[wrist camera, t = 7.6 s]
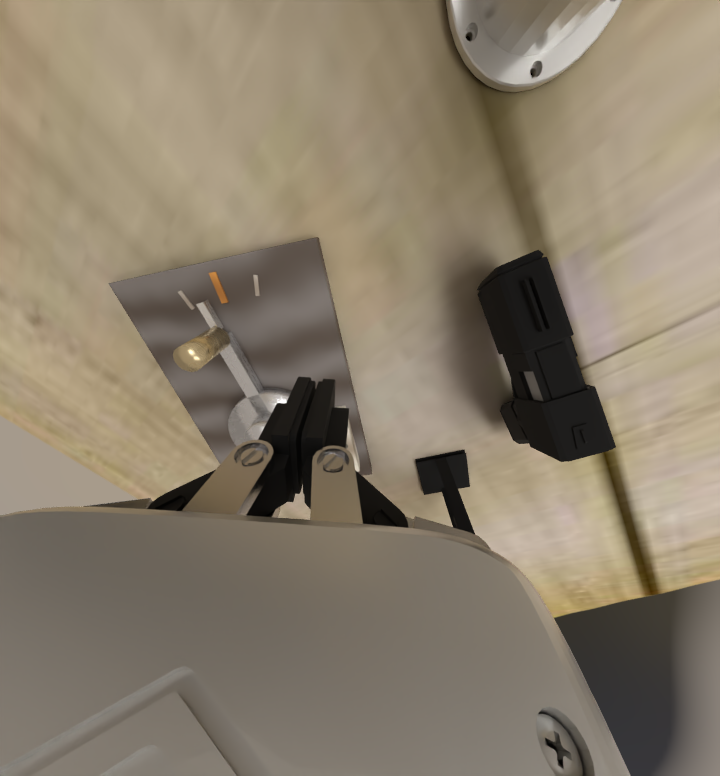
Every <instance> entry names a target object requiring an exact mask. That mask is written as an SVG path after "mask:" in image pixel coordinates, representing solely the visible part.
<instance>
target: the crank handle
mask: <svg viewBox="0 0 720 776" xmlns="http://www.w3.org/2000/svg"><path fill="white" fill-rule="evenodd" d="M196 305H197V307H198V308H199V310H200V312H201V313H202V315H203V317H204V318H205V320H206V322H207V323H208V325H209V327H210V329H208V330H207V331H205V332H203V333H202V334H200V335H198V336H196V337H195V338H193V339H191V340H190V341H188V342H186V343H185V344H183V345H181V346H179V347H178V348H176V349H175V350H174V352H173V358H174V361H175V363H176V364H177V365H178V366H179V367H180V368H181V369H183V370H185V371H189V372H195V371H198V370H199V369H200V368H202V367H203V366H204V365H205V364H207V363H208V362H209V361H210V360H212V359H213V358H214V357H215V356H217V355H218V354H219V353H220V354H221V356H222V357H223V359H224V361H225V362H226V364H227V366H228V367H229V369H230V370H231V372H232V374H233V375H234V377H235V379H236V380H237V382H238V384H239V385H240V387H241V388H242V390H243V392H244V393H245V396H244V397H243V398H242V399H241V400H240V401H239V402H238V403H237V405H236V406H235V407H234V409H233V410H232V412H231V414H230V416H229V420H228V429H229V433H230V436H231V438H232V440H233V442H234V444H235V445H236V446H238V445H240V444H241V443H243V442H246V441H250V440H258V439H259V437H260V435H261V433H262V431H263V429H264V427H265V425H266V423H267V421H268V419H269V417H270V415H271V414H272V412H273V410H274V408H275V406H276V404H277V403H286V402H287V400H288V398H289V395H290V393H291V391H288V390H284V389H279V388H263V387H262V385H261V383H260V382H259V380H258V378H257V376H256V374H255V373H254V371H253V369H252V367H251V366H250V364H249V362H248V360H247V358H246V357H245V355H244V353H243V351H242V350H241V348H240V346H239V344H238V342H237V341H236V339H235V337H234V335H233V334H232V332H228V333H227V332H226V331H225V330H224V329H222V328H223V325H222V323H221V322H220V320H219V318H218V316H217V315H216V313H215V311H214V309H213V308H212V306H211V304H210V302H209V301H208V300H207V301H204V302H201V303H198V304H196Z"/></svg>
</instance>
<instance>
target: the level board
mask: <svg viewBox="0 0 720 776" xmlns="http://www.w3.org/2000/svg"><path fill="white" fill-rule="evenodd" d="M109 285H110V287H111V288H112V290H113V291H114V293H115V295H116V296H117V298H118V299H119V301H120V303H121V304H122V306H123V308H124V309H125V311H126V312H127V314H128V316H129V317H130V319H131V321H132V322H133V324H134V325H135V327H136V329H137V330H138V332H139V333H140V335H141V337H142V338H143V340H144V342H145V343H146V345H147V346H148V348H149V350H150V351H151V353H152V354H153V356H154V358H155V359H156V361H157V363H158V364H159V366H160V367H161V369H162V371H163V372H164V374H165V376H166V377H167V379H168V380H169V382H170V384H171V385H172V387H173V388H174V390H175V392H176V393H177V395H178V397H179V398H180V400H181V401H182V403H183V405H184V406H185V408H186V410H187V411H188V413H189V414H190V416H191V418H192V419H193V421H194V422H195V424H196V426H197V427H198V429H199V431H200V432H201V434H202V435H203V437H204V439H205V440H206V442H207V443H208V445H209V447H210V448H211V450H212V452H213V453H214V455H215V456H216V458H217V460H218V461H219V463H220V464H221V463H222V462H223V461H224V460H225V458H226V457H227V456H228V455H229V454H230V452H231V451H232V450H233V449H234V448H235V447H236V445H235V444H234V442H233V440H232V438H231V436H230V433H229V429H228V420H229V416H230V414H231V412H232V410H233V409H234V407H235V406H236V405H237V403H238V402H239V401H240V400H241V399H242V398H243V397H244V396H245V393H244V392H243V390H242V388H241V387H240V385H239V384H238V382H237V380H236V379H235V377H234V375H233V374H232V372H231V370H230V369H229V367H228V366H227V364H226V362H225V361H224V359H223V357H222V356H221V354H220V353H219V354H218V355H217V356H215V357H214V358H213V359H212V360H210V361H209V362H208V363H207V364H205V365H204V366H203V367H202V368H200V369H199V370H198V371H195V372H189V371H185V370H183V369H181V368H180V367H179V366H178V365H177V364H176V363H175V361H174V358H173V352H174V350H175V349H176V348H178V347H179V346H181V345H183V344H185V343H186V342H188V341H190V340H191V339H193V338H195V337H196V336H198V335H200V334H202V333H203V332H205V331H207V330H208V329H210V327H209V325H208V323H207V322H206V320H205V318H204V317H203V315H202V313H201V312H200V310H199V308H198V307H197V305H196V304H198V303H201V302H204V301H207V300H208V301H209V302H210V304H211V306H212V308H213V309H214V311H215V313H216V315H217V316H218V318H219V320H220V322H221V323H222V325H223V328H222V329H224V330H225V331H226V332H227V333H228V332H232V334H233V335H234V337H235V339H236V341H237V342H238V344H239V346H240V348H241V350H242V351H243V353H244V355H245V357H246V358H247V360H248V362H249V364H250V366H251V367H252V369H253V371H254V373H255V374H256V376H257V378H258V380H259V382H260V383H261V385H262V387H263V388H279V389H284V390H288V391H292V389H293V387H294V385H295V383H296V380H297V378H298V377H311V381H315V383H316V387H317V384H318V381H323V379H335V381H336V383H335V407H338V408H349V419H348V432H347V443H346V449H347V450H349V452H350V453H351V454H352V456H353V459H354V465H355V470H356V471H357V472H358V473H359V474H360V475H369V474H372V468H371V463H370V458H369V454H368V450H367V445H366V441H365V437H364V432H363V428H362V424H361V419H360V415H359V411H358V406H357V402H356V398H355V394H354V389H353V385H352V381H351V376H350V372H349V368H348V363H347V359H346V355H345V350H344V346H343V342H342V337H341V333H340V329H339V324H338V320H337V316H336V311H335V307H334V303H333V298H332V294H331V290H330V285H329V281H328V277H327V272H326V268H325V264H324V259H323V255H322V251H321V246H320V242H319V238H312V239H307V240H303V241H298V242H294V243H289V244H285V245H280V246H276V247H271V248H267V249H262V250H258V251H253V252H249V253H244V254H240V255H235V256H231V257H226V258H222V259H217V260H212V261H208V262H203V263H199V264H194V265H190V266H185V267H181V268H176V269H172V270H167V271H163V272H158V273H154V274H149V275H145V276H140V277H136V278H131V279H127V280H122V281H117V282H113V283H109Z"/></svg>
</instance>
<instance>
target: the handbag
mask: <svg viewBox="0 0 720 776" xmlns="http://www.w3.org/2000/svg"><path fill="white" fill-rule="evenodd" d="M415 460H416V464H417V468H418V472H419V476H420V480H421V484H422V489H423V493H424V495H425V494H431V493H437V492H442V493H443V496H444V500H445V503H446V506H447V509H448V512H449V515H450V519H451V522H452V525H453V528H456V529H460V530H463V531H467V532H470V533H472V534H475V533H474V530H473V528H472V525H471V522H470V520H469V517H468V515H467V512H466V509H465V507H464V504H463V501H462V499H461V496H460V494H459V491H458V489H459V488H465V487H470V484H469V475H468V466H467V457H466V453H465V450H461V451H456V452H450V453H445V454H440V455H435V456H430V457H425V458H420V459H415Z"/></svg>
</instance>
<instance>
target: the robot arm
mask: <svg viewBox="0 0 720 776" xmlns="http://www.w3.org/2000/svg"><path fill="white" fill-rule="evenodd" d="M622 1H623V0H446V6H447V12H448V19H449V26H450V29H451V32H452V36H453V39H454V42H455V45H456V48H457V50H458V52H459V54H460V56H461V58H462V60H463V61H464V63H465V65H466V66H467V67H468V68H469V70H470V71H471V72H472V73H473V75H474V76H475V77H476V78H478V79H479V80H480V81H482V82H483V83H484V84H486V85H487V86H489V87H492V88H495V89H497V90H500V91H507V92H520V91H525V90H530V89H534V88H536V87H538V86H541V85H543V84H545V83H547V82H549V81H551V80H552V79H554V78H555V77H556V76H558V75H559V74H561V73H562V72H564V71H565V70H566V69H567V68H569V67H570V66H571V65H572V64H573V63H574V62H575V61H577V60H578V59H579V58H580V57H581V56H582V55H583V54H584V53H585V52H586V51H587V50H588V49H589V48H590V46H591V45H592V44H593V43H594V42H595V41H596V40H597V39H598V37H599V36H600V34H601V33H602V32H603V30H604V29H605V28H606V26H607V25H608V23H609V22H610V21H611V19H612V18H613V16H614V14H615V13H616V11H617V9H618V7H619V6H620V4H621V2H622ZM466 36H469V37H470V41H468V40H467V39H466ZM530 72H532V75H533V76H531V75H530ZM335 383H336V381H335V379H323V381H318V384H317V387H316V383H315V381H311V377H298V378H297V380H296V383H295V385H294V387H293V389H292V391H291V393H290V395H289V398H288V400H287V402H286V403H277V404H276V406H275V408H274V410H273V412H272V414H271V415H270V417H269V419H268V421H267V423H266V425H265V427H264V429H263V431H262V433H261V435H260V437H259V439H258V440H250V441H246V442H243V443H241V444H240V445H238V446H236V447H235V448H234V449H233V450H232V451H231V452H230V454H229V455H228V456H227V457H226V458H225V460H224V461H223V462H222V463H221V464H220V466H219V467H218V468H217V469H216V470H214V471H212V472H210V473H208V474H206V475H204V476H202V477H199V478H197V479H195V480H193V481H191V482H189V483H187V484H185V485H183V486H180V487H178V488H176V489H174V490H172V491H170V492H168V493H166V494H164V495H162V496H160V497H159V498H157V499H156V500H155V501H152V500H151V498H147V499H139V500H131V501H123V502H115V503H107V504H99V505H91V506H83V507H54V508H42V509H35V510H27V511H19V512H14V513H10V514H6V515H1V516H0V776H630V774H629V772H628V770H627V767H626V765H625V763H624V761H623V759H622V756H621V754H620V752H619V750H618V748H617V746H616V744H615V741H614V739H613V737H612V735H611V733H610V730H609V728H608V726H607V724H606V722H605V720H604V718H603V715H602V713H601V711H600V709H599V707H598V705H597V703H596V701H595V699H594V697H593V695H592V693H591V691H590V689H589V687H588V685H587V683H586V680H585V679H584V676H583V674H582V672H581V670H580V668H579V666H578V664H577V662H576V660H575V658H574V656H573V654H572V652H571V651H570V648H569V646H568V644H567V643H566V641H565V639H564V637H563V635H562V633H561V631H560V629H559V627H558V626H557V624H556V622H555V620H554V618H553V616H552V615H551V613H550V611H549V609H548V608H547V606H546V604H545V603H544V601H543V599H542V598H541V596H540V595H539V593H538V592H537V590H536V589H535V587H534V586H533V584H532V583H531V582H530V581H529V579H528V578H527V577H526V576H525V575H524V574H523V573H522V572H521V570H520V569H518V568H517V567H516V566H515V565H514V564H512V563H511V562H510V561H508V560H507V559H505V558H504V557H502V556H501V555H499V554H497V553H495V552H494V551H492V550H491V549H490V548H489V546H488V545H487V544H486V542H485V541H483V540H482V539H481V538H480V537H479V536H477V535H475V534H472V533H470V532H467V531H463V530H460V529H456V528H453V527H450V526H446V525H443V524H439V523H436V522H432V521H429V520H426V519H422V518H419V517H415V518H414V519H411V518H407V517H405V515H404V514H403V513H402V512H401V511H400V509H398V508H397V507H396V506H395V505H394V504H393V503H392V502H391V501H389V500H388V499H387V498H386V497H385V496H384V495H383V494H382V493H380V492H379V491H378V490H377V489H376V488H375V487H374V486H373V485H371V484H370V483H369V482H368V481H367V480H366V479H365V478H364V477H363V476H361V475H360V474H359V473H358V472H357V471H356V470H355V465H354V459H353V456H352V454H351V453H350V452H349V450H347V449H346V443H347V432H348V419H349V408H338V407H335ZM302 484H303V494H304V496H305V503H306V505H307V506H308V507H309V508H310V509H311V514H310V520H303V519H289V518H277V517H278V515H279V512H280V506H282V505H283V504H285V503H286V502H293V500H294V497H295V493H297V494H300V492H301V488H302ZM538 713H539V714H538Z"/></svg>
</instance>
